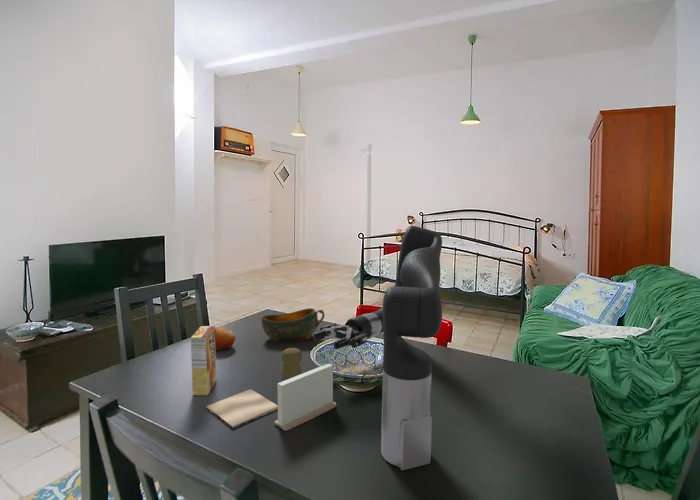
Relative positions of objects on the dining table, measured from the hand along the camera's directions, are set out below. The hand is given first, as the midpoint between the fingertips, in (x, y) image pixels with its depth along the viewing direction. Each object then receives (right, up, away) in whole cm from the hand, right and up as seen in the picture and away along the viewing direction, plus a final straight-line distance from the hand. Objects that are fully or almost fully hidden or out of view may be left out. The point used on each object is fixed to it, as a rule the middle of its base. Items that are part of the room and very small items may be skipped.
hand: (324, 341), depth 111 cm
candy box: (-31, -11, -6) cm, 33 cm away
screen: (-3, -13, -19) cm, 23 cm away
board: (-18, -12, -16) cm, 27 cm away
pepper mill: (-8, -11, -7) cm, 15 cm away
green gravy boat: (-13, -6, +31) cm, 35 cm away
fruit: (-35, -7, +21) cm, 41 cm away
